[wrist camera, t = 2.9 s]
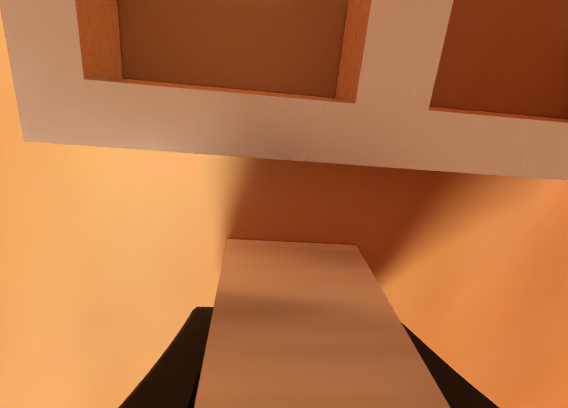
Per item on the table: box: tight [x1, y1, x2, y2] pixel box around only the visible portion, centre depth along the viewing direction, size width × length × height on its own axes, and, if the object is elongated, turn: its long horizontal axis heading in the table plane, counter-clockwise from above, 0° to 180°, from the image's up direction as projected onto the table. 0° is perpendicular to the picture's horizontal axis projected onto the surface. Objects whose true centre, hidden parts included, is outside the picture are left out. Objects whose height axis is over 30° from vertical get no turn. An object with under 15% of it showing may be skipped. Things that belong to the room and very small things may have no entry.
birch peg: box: [194, 239, 450, 408], centre depth 8 cm, size 4×4×6 cm
